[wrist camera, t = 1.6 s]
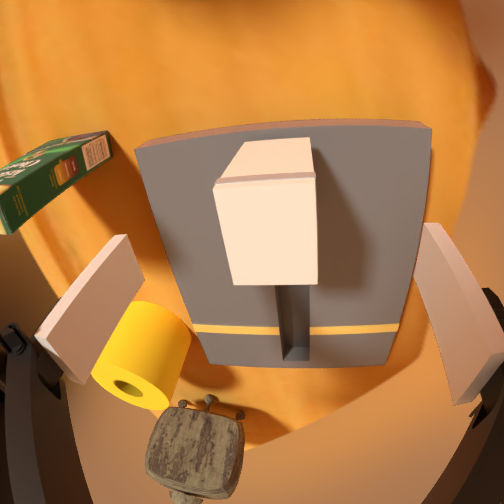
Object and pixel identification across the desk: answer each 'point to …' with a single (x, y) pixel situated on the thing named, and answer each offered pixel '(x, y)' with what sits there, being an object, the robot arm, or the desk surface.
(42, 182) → the coffee box
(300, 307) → the fader console
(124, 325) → the yellow toilet paper roll
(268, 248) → the fader knob
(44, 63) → the desk surface
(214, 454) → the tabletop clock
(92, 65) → the desk surface
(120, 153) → the desk surface
